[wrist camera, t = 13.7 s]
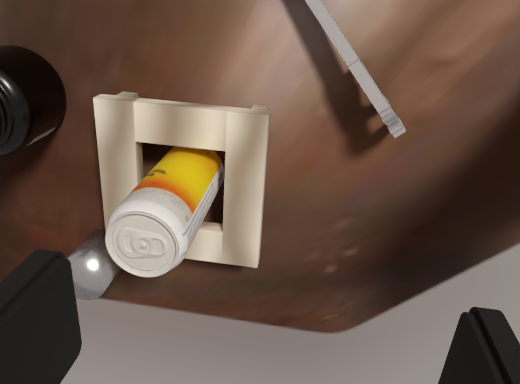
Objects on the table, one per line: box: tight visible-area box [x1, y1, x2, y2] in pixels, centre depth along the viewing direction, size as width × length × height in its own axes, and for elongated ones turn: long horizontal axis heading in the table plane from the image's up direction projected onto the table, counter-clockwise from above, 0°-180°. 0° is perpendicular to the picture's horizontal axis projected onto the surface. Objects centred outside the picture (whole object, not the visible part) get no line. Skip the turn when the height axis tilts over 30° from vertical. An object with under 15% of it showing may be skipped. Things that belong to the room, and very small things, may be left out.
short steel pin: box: [67, 229, 121, 300], centre depth 48 cm, size 5×5×6 cm
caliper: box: [305, 0, 406, 138], centre depth 35 cm, size 20×1×6 cm, turn 38°
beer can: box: [105, 146, 224, 277], centre depth 38 cm, size 6×6×15 cm
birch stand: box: [93, 92, 271, 268], centre depth 43 cm, size 15×15×5 cm
